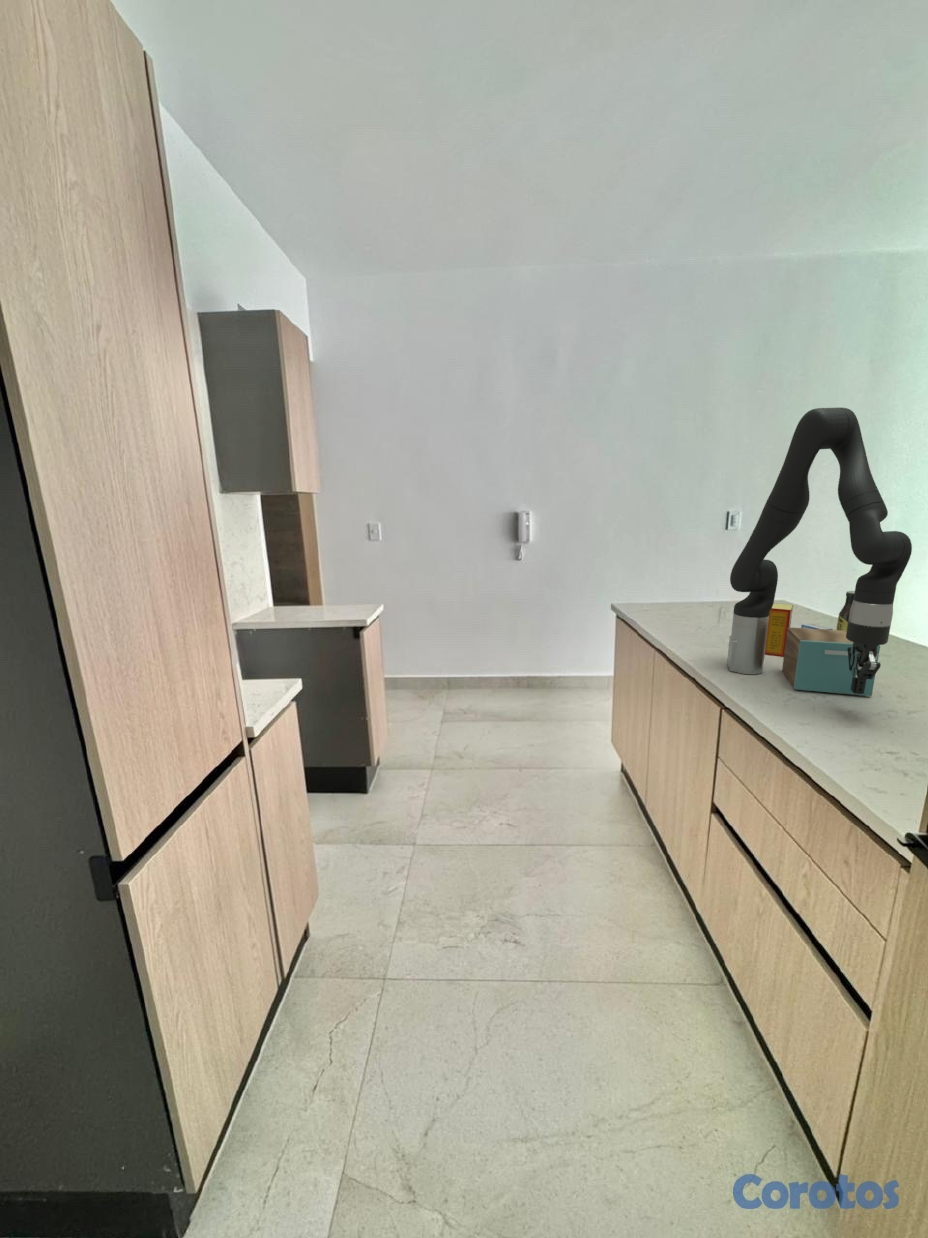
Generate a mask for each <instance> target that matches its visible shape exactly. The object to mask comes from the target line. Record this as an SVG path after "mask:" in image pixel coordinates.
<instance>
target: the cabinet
mask: <svg viewBox="0 0 928 1238" xmlns="http://www.w3.org/2000/svg"><path fill="white" fill-rule="evenodd" d="M846 633H847V631H846V630H836V629H833V630H827V629H808V628H801V627H790V628H789V627H788V628H787V636H786V643H785V651H784V657H783V660H782V668H781V672H782V674H783V675H784V676H785V677H786V679H787V680H788V682H789V683H790V684H791V687H793V688H794V681H795V674H796V666H797V659H798V651H799V644H800V640H808V641H825V642H842V643H853V642H852V641H850V640H848V639H847V638H846Z"/></svg>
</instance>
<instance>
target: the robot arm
mask: <svg viewBox="0 0 928 1238" xmlns="http://www.w3.org/2000/svg"><path fill="white" fill-rule="evenodd" d="M861 431H862V430H861V426H860V422H859V420H858V418H857V416H856V414H855V412H854V411H853V410H852V409H849V408H847V407H820V408H819V407H818V408H816V407H815V408H813V409H810V410H808V411H807V412H806V413H805V414H804V415H802V417H801V418H800V419H799V421H798V422H797V425H796V428H795V430H794V432H793V434H792V437H791V441H790V444H789V446H788V449H787V452H786V455H785V459H784V461H783V463H782V464H783V465H782V467H781V468H780V471H779V473H778V476H777V479H776V481H775V483H774V485H773V488H772V490H771V492H770V494H769V496H768V497H767V499H766V502H765V504H764V506H763V508H762V511H761V513H760V515H759V518H758V520H757V523H756V524H755V526H754V529H753V530H752V533H751V534H750V537H749V538H748V541H747V542H746V544H745V546H744V547H743V549H742V551H741V553H740V554H739V556H738V558H737V559H736V561H735V562H734V564H733V566H732V569H731V572H730V575H729V576H730V577H729V583H730V586H731V588H732V589H733V590H734V591H736V592H737V593H748V595H747V596H746V597H745V598H743V599H742V600H740V601H737V602H736V603H734V605H733V613H732V622H731V624H732V625H731V632H730V633H731V634H730V635H729V641H728V650H727V651H728V652H727V660H726V666H727V668H728V671H729V672H734V673H739V674H744V675H760V674H762V673H763V671H764V667H765V666H764V665H765V663H764V662H765V657H766V655H765V647H766V639H767V630H768V621H769V614H770V610H771V608H772V606H773V604H774V603H775V602H774V601H775V597H776V592H777V591H776V590H777V586H778V580H779V579H778V578H779V572H778V567H777V565H776V564H775V563H774V561H772V560H770V559H765V558H766V556H767V555H768V554H769V553H770V551H772V549H774V548H775V547H776V546H778V545H779V544H780V543H781V542H782V541H783V540H784V539H786V538H787V537H788V536H789V535H791V533H793V532H794V531H795V529H796V528H797V527H798V526H799V524H800V522H801V520H802V518H803V516H804V514H805V512H806V511H807V508H808V506H809V503H810V496H811V495H810V486H809V474H810V473H809V472H810V470H811V468H812V465H813V462H814V460H815V459H816V456H817V455H818V453H819V452H820V450H830V451H831V452H832V453H833V454H834V456H835V458H836V460H837V462H838V465H839V479H838V484H837V496H838V500H839V503H840V506H841V508H842V510H843V513H844V515H845V517H846V520H847V521H848V525H849V526H848V527H849V538H850V546H851V550H852V553H853V555H854V557H855V558H856V559H857V560H858V561H859V562H861V563H862V564H865V565H870V566H871V567H870V569H869V571H868V572H867V573H865V574H863V575H860V576H859V577H858V578H857V580H856V584H855V586H854V587H855V588H854V591H855V593H854V600H853V603H852V606H851V609H850V615H849V621H848V627H847V633H846V638H847V639H848V640H850V641H852V642H853V647H848V649H847V650H848V660H849V670H850V671H852V672H851V674H852V676H853V678H852V684H851V691H852V692H853V693H854V694H863V693H864V690H865V685H866V679H872V678H873V677H874V675H875V676H876V674H877V672H878V671H879V670H880V668H881V665H882V664H881V662H879V661H878V662H875V660H876V659H877V656H878V652H877V646H879V645H880V646H883V645H886V644H887V643H888V641H889V638H890V637H889V635H890V631H891V625H892V621H893V616H894V615H893V614H894V601H895V597H896V591H897V590H896V589H897V586H898V582H899V581H900V579H901V578H902V576H903V573H904V572H905V569H906V567H907V566H908V563H909V561H910V559H911V555H912V552H913V544H912V540H911V538H910V537H909V536H908V535H907V534H906V533H905V532H903V531H898V530H891V531H883V529H882V527H881V522H883V521H884V520H885V519H886V518H887V517H888V515H889V514H888V508H887V505H886V504H885V502H884V501H885V500H884V499H883V497H882V495H881V493H880V491H879V488H878V486H877V485H876V482H875V480H874V478H873V477H874V476H873V474H872V471H871V469H870V464H869V461H868V457H867V452H866V448H865V444H864V439H863V436H862V432H861ZM854 694H853V695H854Z"/></svg>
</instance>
